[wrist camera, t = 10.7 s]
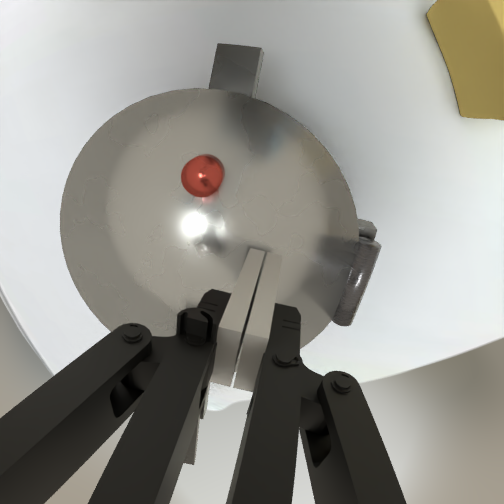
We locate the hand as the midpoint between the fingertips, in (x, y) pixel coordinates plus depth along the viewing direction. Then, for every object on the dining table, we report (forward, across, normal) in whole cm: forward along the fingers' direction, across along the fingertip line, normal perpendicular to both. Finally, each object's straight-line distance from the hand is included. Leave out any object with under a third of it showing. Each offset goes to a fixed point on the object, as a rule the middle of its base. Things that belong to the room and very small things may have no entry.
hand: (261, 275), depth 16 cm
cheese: (+11, +15, +19) cm, 27 cm away
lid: (+1, -3, -6) cm, 7 cm away
